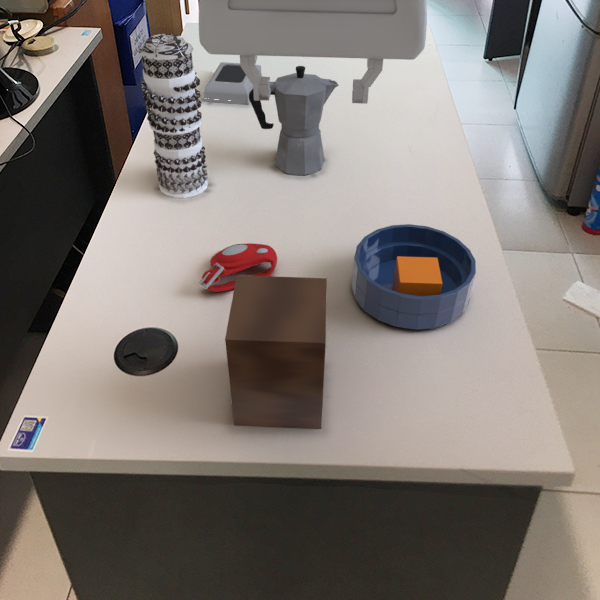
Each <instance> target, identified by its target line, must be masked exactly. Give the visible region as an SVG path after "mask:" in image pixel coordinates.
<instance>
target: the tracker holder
mask: <svg viewBox="0 0 600 600" xmlns="http://www.w3.org/2000/svg"><path fill="white" fill-rule="evenodd" d="M209 262H210V265H211V268H209V269H208V270H205V272H204V273H203V275H202V276H201V280H200V281H199V285H200V286H202V287H203V288H204V289H206V290H209V291H210V292H213V293H219V292H225V291H231V290H234V288H235V282H236V279H234V280H230V281H227V282H224V283H219V284H215V283H218V282H220V277H227V276H231V275H234V274H236V273H239V272H241V271H244V270H247V269H249V268H252V267H254V266H257V265H260V264H265V263H270V267H269V268H267V269H265V270H263V271H260V272H256V273H253V274H250V275H249V276H272V274H273V273H274V270H275V268H276V266H277V262H278V255H277V252H276V250H275V249H274V248H273V247H272V246H270V245H268V244H262V243H236V244H232V245H230V246H227V247H225V248H223V249H222V250H220V251H218V252H216V253H215V254H214V255H213V256H211V258H210V261H209ZM213 283H214V284H213ZM212 284H213V285H212Z"/></svg>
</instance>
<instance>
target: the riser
mask: <svg viewBox="0 0 600 600" xmlns="http://www.w3.org/2000/svg"><path fill="white" fill-rule="evenodd" d="M235 280H236V282H235V288H234V289H233V292H232V293H233V294H232V299H231V303H230V304H231V305H230V310H229V317H228V322H227V327H226V333H225V336H224V337H225V338H224V341H225V342H224V343H225V353H226V361H227V372H228V382H229V391H230V401H231V412H232V419H233V420H232V421H233V426H243V427H245V426H246V427H266V428H267V427H269V428H291V429H293V428H294V429H295V428H296V429H320V430H321V429H322V426H323V424H322V423H323V407H324V406H323V405H324V404H323V403H324V387H325V386H324V385H325V384H324V383H325V366H326V365H325V363H326V348H327V347H326V346H327V343H326V342H327V292H328V291H327V283H328V278H327V277H303V276H301V277H300V276H272V275H270V276H250V275H241V274H240V275H239V274H236V278H235Z"/></svg>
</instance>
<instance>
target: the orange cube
mask: <svg viewBox="0 0 600 600" xmlns="http://www.w3.org/2000/svg"><path fill="white" fill-rule="evenodd" d="M441 288H442V279H441V273H440V268H439V263H438V258H433V257H402V256H397V259H396V267H395V274H394V281H393V291H395V292H398V293H401V294H408V295H415V296H431V295H440V293H441Z"/></svg>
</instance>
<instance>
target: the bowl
mask: <svg viewBox="0 0 600 600" xmlns="http://www.w3.org/2000/svg"><path fill="white" fill-rule="evenodd" d="M397 256H402V257H433V258H438V263H439V268H440V273H441V279H442V288H441V293H440V295H431V296H415V295H408V294H401V293H398V292H395V291H393V281H394V274H395V267H396V259H397ZM352 267H353V268H352V280H351V288H352V292H353V293H352V294H353V296H354V297H353V298H354V300H355V301H356V302H357V304H358V305H359V306H360V307H361V309H362V310H363V311H364V312H366V313H367V314H368V315H370V316H372V317H373V318H375V319H376V320H377V321H379V322H382V323H385V324H387V325H390V326H393V327H396V328H402V329H409V330H429V329H436V328H439V327H442V326H444V325H445V326H446V325H448V324H451V323H452V322H454V321H455V320H456V319H457V318H459V317H460V316H461V315H462V314H463V313H464V312H465V310H466V307H467V306H468V305H469V301H470V297H471V293H472V289H473V285H474V281H475V278H476V273H477V269H476V259H475V257H474V255H473V253H472V252H471V250H470V248H469V247H468V246H466V245H465V244H464V243H463V242H462V241H461V240H460V239H459V238H457V237H455V236H453V235H452V234H450V233H447V232H446V231H444V230H440V229H438V228H434V227H431V226H428V225H420V224H419V225H418V224H411V223H407V224H406V223H405V224H392V225H388V226H385V227H381V228H377V229H375V230H374V231H372V232H370V233H368V234H367V235H365V236H363V238H362V239H361V240H360V241H359V242H358V243H357V245H356V248H355V253H354V256H353V266H352Z"/></svg>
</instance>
